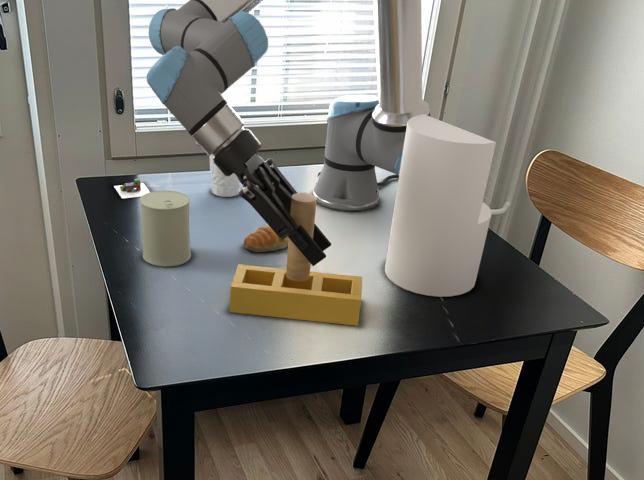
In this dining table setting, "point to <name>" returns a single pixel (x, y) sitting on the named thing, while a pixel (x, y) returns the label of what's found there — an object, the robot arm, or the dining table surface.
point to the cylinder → (439, 209)
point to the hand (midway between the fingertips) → (322, 254)
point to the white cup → (223, 182)
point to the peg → (305, 216)
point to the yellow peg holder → (296, 295)
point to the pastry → (265, 240)
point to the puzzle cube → (132, 189)
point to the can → (165, 228)
